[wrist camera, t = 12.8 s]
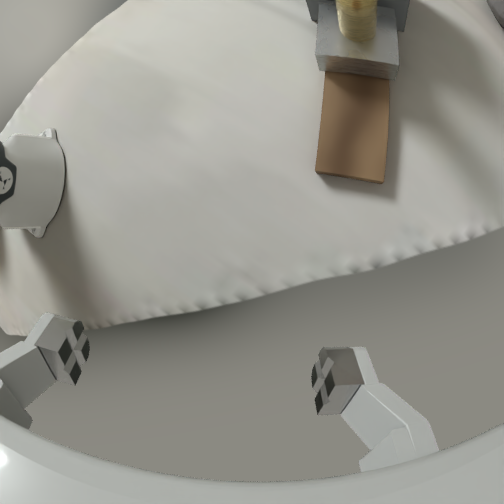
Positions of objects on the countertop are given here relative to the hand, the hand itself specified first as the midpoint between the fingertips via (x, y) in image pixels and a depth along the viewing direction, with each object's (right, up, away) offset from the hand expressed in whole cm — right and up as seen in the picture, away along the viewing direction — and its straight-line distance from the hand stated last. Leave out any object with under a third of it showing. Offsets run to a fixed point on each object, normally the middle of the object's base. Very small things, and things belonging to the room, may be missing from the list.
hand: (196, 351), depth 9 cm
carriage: (+12, +22, +12) cm, 28 cm away
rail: (+12, +18, +14) cm, 26 cm away
